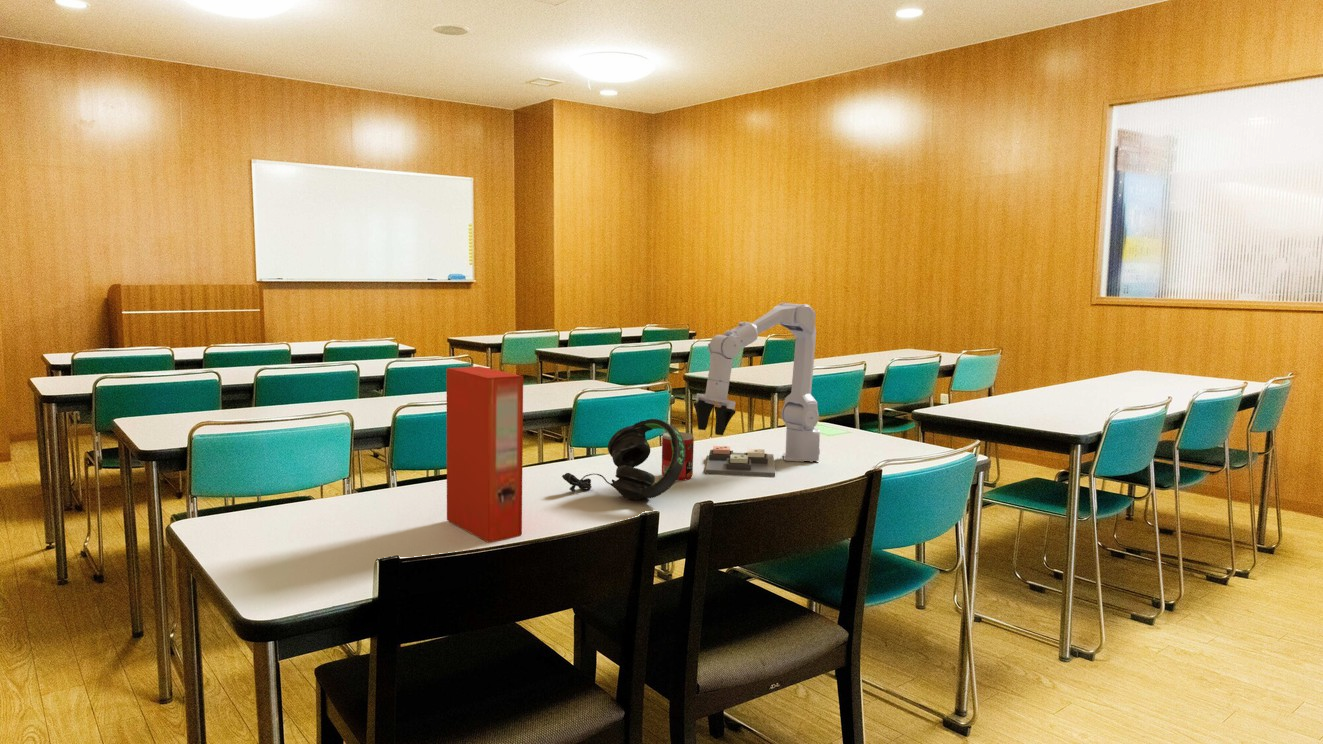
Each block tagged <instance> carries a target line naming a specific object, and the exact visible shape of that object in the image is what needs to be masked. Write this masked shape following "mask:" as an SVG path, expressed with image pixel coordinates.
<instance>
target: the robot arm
mask: <svg viewBox="0 0 1323 744" xmlns="http://www.w3.org/2000/svg"><path fill="white" fill-rule="evenodd" d="M816 314H817V313H816V311H815V309H813V307H811V305H809V304H808V303H803V304H800V303H788V302H781V303H779V304H777V305H775V306H773V308H772V309H771V310H769V311H768V312H767V313H765V314H763V315H762V316H760V317H759V318H757V319H756V320H754V321H753V322H749V321H740V322H738V323H737V324H738V325H737V326H735V327H733V328H732V329H727V330H725V332H724V333H723V334H716V335H714V336H713V337H712V338H711V340H710V341H709V342H710V343H708V344H707V348H708V349H707V350H708V352H709V360H710V362H709V367H708V375H707V381H706V387H705V394H703V393H696V397H695V401H697V402H695V401H694V402H693V407H694V409H695V413H696V414H695V415H696V419H697V421H696V422H697V429H698V430H701V431H706V430H707V428H708V424H709V419H710V416H711V413H712V411H713V409H714V412H715V428H714V429H715V430H714V433H715V435H716V436H724V434H725V431H726V429H727V427H728V425H729V422H730V421H731V419H732V418H733V416H734V415H735V414H736V413H737V411H736V409H735V408H736V404H737V403H736V401H734V400H730V399H728V392H729V388H730V387H729V386H730V380H731V375H732V374H731V373H732V368H733V361H734V358H737V356H739V353H740V350H742V349H744V348H745V347H747V346H749V345H750V344H753V343H754V342H756V341H757V340H758V336H759V334H761V333H764V332H765V331H768V330H769V329H771V328H773V327H776V326H778V325H780V326H781V327H783V328H785V329H787V330H789V331H790V333H791V334H792V335H793V336H794V337H795V342H794V343H795V344H794V345H795V346H794V356H793V368H792V379H791V391H790V393H789V394H788V395H787V396H786V397H785V398H784V404H783V406H782V408H781V413H780V414H781V415H780V416H781V419H782V422H783V423H784V426H785V427H786V429H785V430H786V431H785V453H783V460H784V461H786V462H804V461H810V462H809V463H814V462H813V461H816V462H815V463H818V462H817V461H819V462H820V452H821V451H820V450H821V449H820V442H821V441H820V437H821V434H820V432H821V431H820V429H819V428H815V426H817V424H818V422H819V418H820V413H819V410H818V401H817V400H816V399H815V397H814V396H813V395H812V387H813V386H812V385H813V375H814V362H815V353H816V352H815V350H816V343H817V342H816V340H817V339H816V338H817V327H816Z"/></svg>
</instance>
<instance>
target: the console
mask: <svg viewBox="0 0 1323 744" xmlns="http://www.w3.org/2000/svg"><path fill="white" fill-rule="evenodd" d="M730 455H747V452H734V450H731V449H730V454H713V449H710V450H709V453H708V458H707V462H706V467H705V474H706V473H714V474H713V475H731V476H733V475H736V476H751V477H752V476H754V477H774V478H775V477H776V466H775V457H774V454H773V453H765V456H764V457H748V464H746V463H730Z"/></svg>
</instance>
